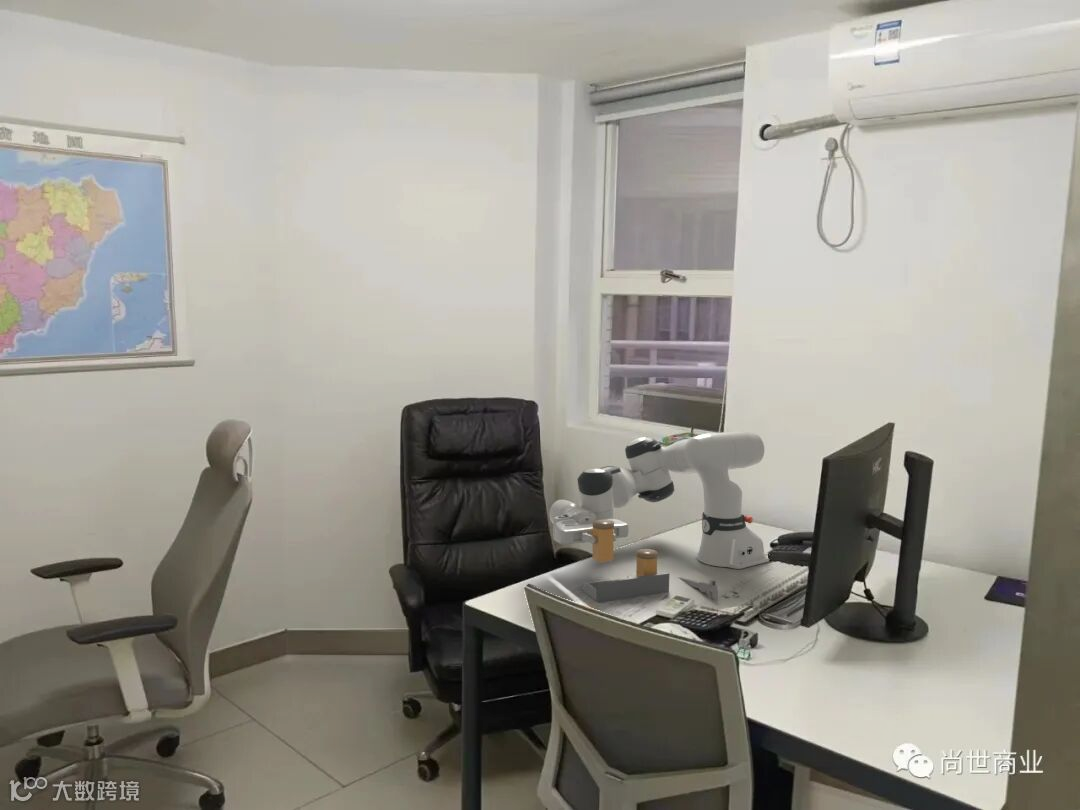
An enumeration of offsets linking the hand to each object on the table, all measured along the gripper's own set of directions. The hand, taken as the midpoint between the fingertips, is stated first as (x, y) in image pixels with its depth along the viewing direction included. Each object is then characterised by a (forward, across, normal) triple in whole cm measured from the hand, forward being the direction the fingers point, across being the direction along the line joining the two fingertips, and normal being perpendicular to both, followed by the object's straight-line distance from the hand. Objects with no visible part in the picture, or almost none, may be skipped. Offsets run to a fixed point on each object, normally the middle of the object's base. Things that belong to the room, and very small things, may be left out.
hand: (604, 539), depth 209 cm
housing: (-1, -7, -16) cm, 18 cm away
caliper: (+4, -26, -17) cm, 31 cm away
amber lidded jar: (-1, 0, -6) cm, 6 cm away
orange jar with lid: (-1, -13, -15) cm, 20 cm away
